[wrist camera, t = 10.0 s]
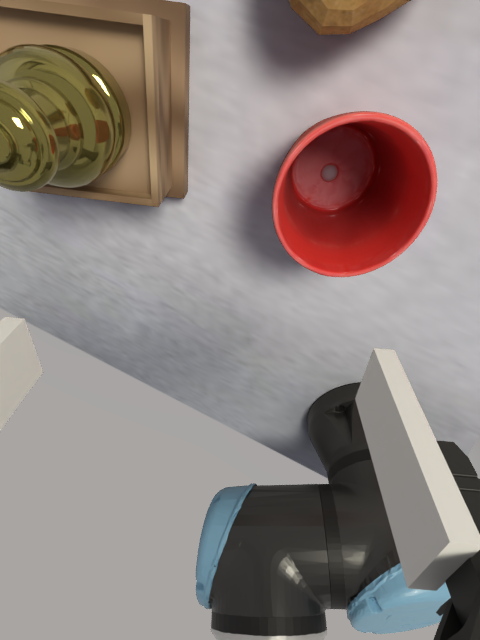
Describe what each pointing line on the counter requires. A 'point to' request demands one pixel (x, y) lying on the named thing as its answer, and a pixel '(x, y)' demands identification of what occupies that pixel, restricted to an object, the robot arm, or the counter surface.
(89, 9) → the brown wooden square box
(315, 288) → the counter surface
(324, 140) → the flower pot
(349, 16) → the potato
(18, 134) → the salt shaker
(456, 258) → the counter surface
